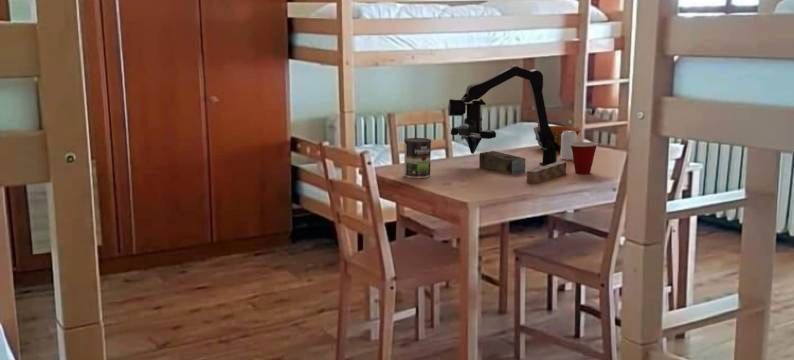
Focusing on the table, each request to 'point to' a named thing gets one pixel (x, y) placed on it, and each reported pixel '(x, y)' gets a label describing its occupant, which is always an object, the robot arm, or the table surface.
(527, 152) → the table surface
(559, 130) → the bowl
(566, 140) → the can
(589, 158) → the plastic cup
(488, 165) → the beverage carton
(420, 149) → the coffee can
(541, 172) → the batten
